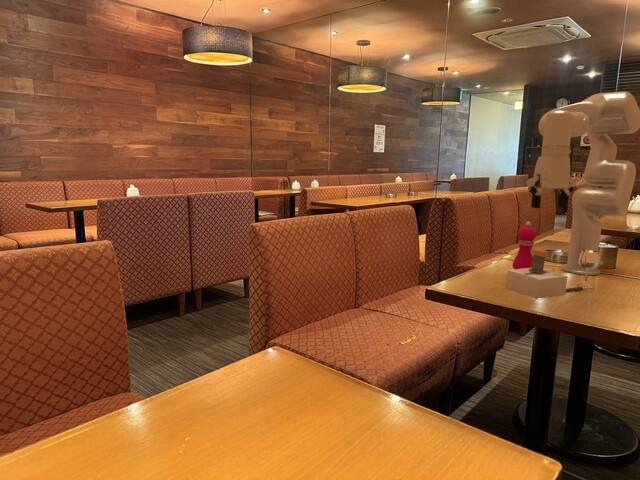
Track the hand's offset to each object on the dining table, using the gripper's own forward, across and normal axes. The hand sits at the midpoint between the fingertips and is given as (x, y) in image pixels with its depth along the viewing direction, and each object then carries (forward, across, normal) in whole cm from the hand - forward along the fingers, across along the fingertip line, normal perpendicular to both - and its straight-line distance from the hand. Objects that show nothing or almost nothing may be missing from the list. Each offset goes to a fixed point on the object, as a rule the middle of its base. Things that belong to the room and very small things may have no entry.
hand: (548, 207), depth 141 cm
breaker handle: (+20, +5, +4) cm, 21 cm away
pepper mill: (+26, -2, -12) cm, 29 cm away
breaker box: (+26, 0, +3) cm, 26 cm away
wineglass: (+26, -17, +1) cm, 31 cm away
